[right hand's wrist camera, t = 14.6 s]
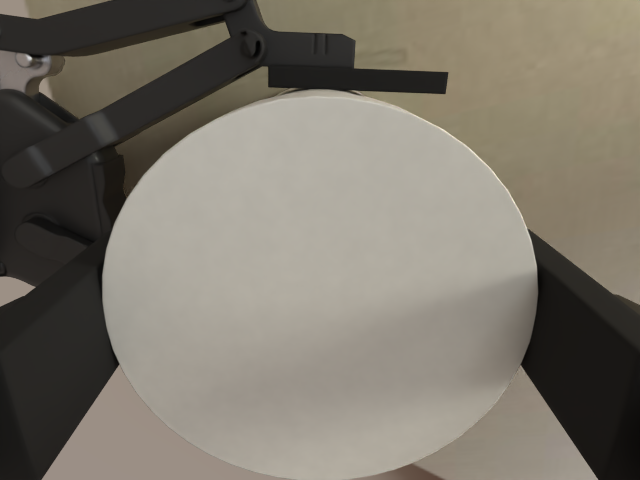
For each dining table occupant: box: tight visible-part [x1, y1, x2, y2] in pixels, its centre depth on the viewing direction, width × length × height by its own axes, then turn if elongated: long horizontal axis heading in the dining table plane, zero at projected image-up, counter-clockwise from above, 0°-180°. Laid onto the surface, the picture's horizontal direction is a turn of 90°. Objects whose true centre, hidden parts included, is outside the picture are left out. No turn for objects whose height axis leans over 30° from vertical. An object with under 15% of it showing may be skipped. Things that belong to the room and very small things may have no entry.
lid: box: [102, 91, 538, 480], centre depth 11 cm, size 10×10×2 cm
